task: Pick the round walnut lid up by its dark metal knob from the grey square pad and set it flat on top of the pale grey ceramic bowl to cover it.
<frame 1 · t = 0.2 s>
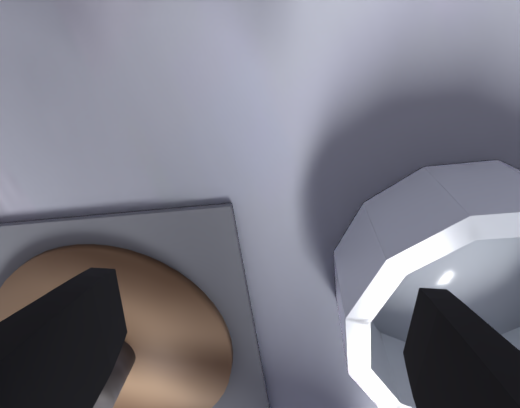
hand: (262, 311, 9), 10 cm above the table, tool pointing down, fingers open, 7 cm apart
walnut lid: (103, 368, 22), on the grey square pad
grey bowl: (449, 269, 19), on the table
grey square pad: (120, 339, 24), on the table
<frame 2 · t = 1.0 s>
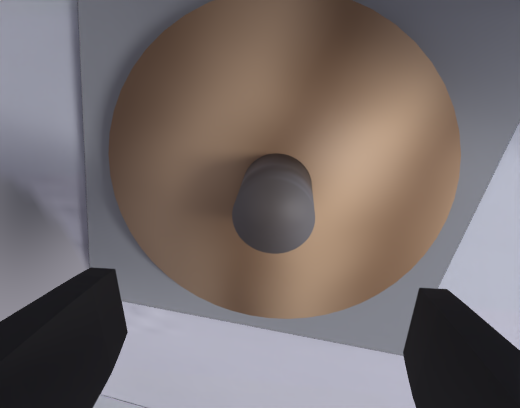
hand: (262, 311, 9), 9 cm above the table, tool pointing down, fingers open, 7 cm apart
walnut lid: (275, 196, 15), on the grey square pad
grey square pad: (278, 176, 17), on the table
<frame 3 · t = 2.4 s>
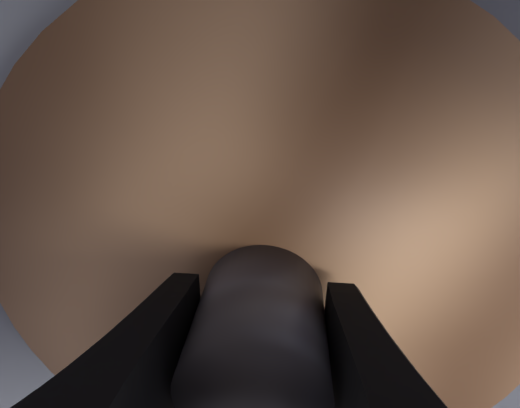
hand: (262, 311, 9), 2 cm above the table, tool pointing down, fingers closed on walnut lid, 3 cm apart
walnut lid: (259, 325, 8), on the grey square pad, touching gripper
grey square pad: (267, 267, 10), on the table
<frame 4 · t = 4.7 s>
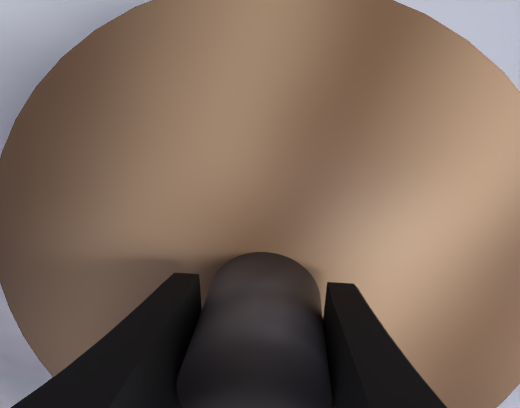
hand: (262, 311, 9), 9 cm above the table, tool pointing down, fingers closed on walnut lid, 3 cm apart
walnut lid: (260, 329, 9), point 10 cm above the table, touching gripper
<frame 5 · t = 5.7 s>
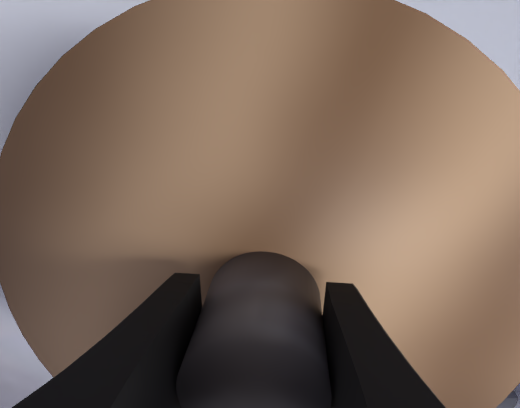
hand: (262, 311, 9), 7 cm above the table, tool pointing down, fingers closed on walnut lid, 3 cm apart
walnut lid: (260, 328, 9), point 8 cm above the table, touching gripper
when the fingers open (7 cm above the table, at t = 5.7 s): walnut lid stays where it is, resting on grey bowl.
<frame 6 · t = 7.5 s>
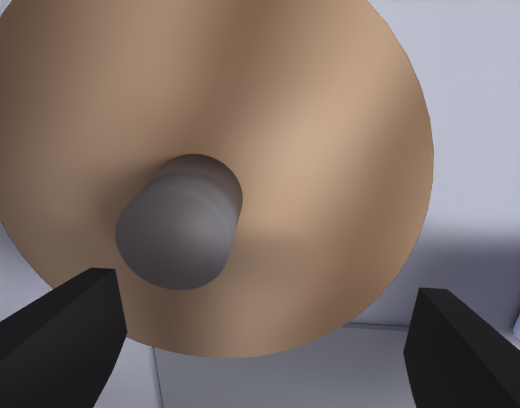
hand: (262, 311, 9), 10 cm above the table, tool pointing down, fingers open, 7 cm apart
walnut lid: (190, 211, 11), on the grey bowl, point 7 cm above the table
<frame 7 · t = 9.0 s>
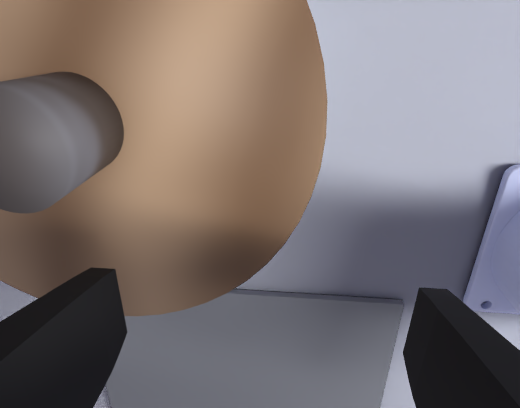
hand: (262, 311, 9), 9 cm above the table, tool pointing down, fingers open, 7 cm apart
walnut lid: (53, 133, 10), on the grey bowl, point 7 cm above the table
grey square pad: (240, 397, 24), on the table
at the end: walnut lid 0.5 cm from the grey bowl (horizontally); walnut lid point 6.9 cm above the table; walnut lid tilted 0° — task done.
